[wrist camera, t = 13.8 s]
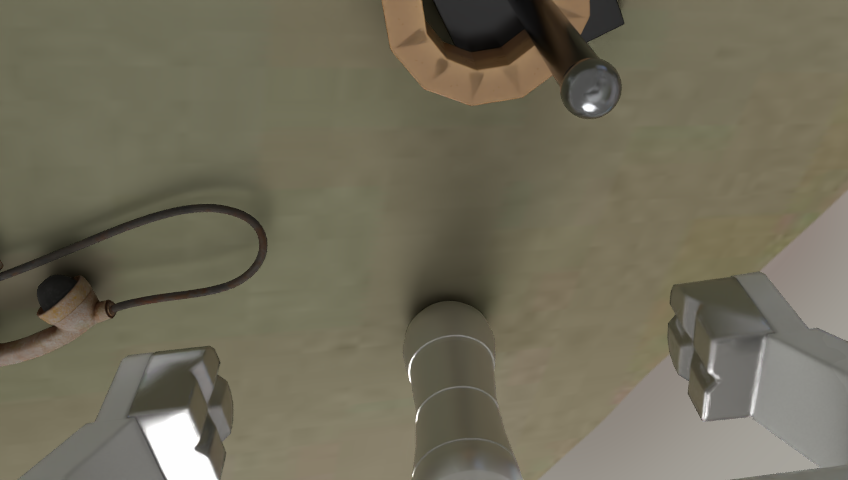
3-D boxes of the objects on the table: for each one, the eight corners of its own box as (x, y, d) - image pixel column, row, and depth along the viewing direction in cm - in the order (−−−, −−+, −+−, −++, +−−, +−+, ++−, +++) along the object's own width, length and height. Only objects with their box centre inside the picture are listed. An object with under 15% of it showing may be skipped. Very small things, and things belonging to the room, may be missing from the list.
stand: (563, -140, 37) (687, -86, 22) (619, 18, 42) (751, 147, 27) (407, -54, 39) (428, 47, 24) (476, 88, 43) (528, 245, 29)
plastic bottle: (504, 301, 52) (568, 551, 35) (468, 369, 55) (510, 626, 39) (420, 278, 51) (444, 527, 34) (388, 349, 54) (395, 608, 37)
